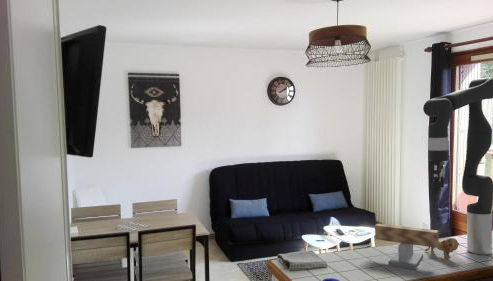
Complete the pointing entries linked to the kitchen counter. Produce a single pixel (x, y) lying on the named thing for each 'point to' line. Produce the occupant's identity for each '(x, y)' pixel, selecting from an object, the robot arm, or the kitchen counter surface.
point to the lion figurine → (446, 247)
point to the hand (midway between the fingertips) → (439, 189)
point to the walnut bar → (407, 235)
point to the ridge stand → (406, 257)
